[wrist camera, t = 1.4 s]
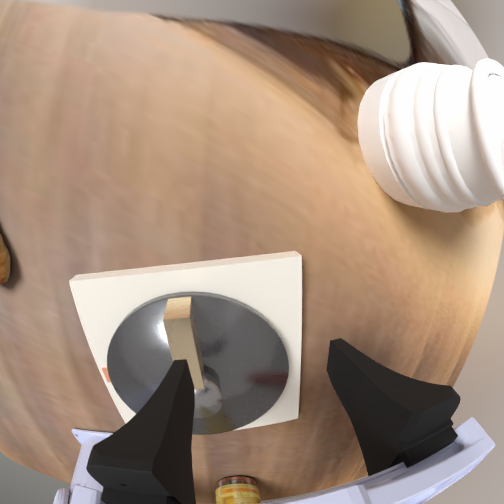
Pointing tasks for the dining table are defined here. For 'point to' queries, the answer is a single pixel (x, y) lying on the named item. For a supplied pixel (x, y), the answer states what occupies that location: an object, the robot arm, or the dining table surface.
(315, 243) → the dining table surface
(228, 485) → the sauce bottle
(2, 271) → the pastry
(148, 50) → the dining table surface
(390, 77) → the honey pot
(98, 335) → the base
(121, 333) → the handwheel
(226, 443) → the dining table surface
